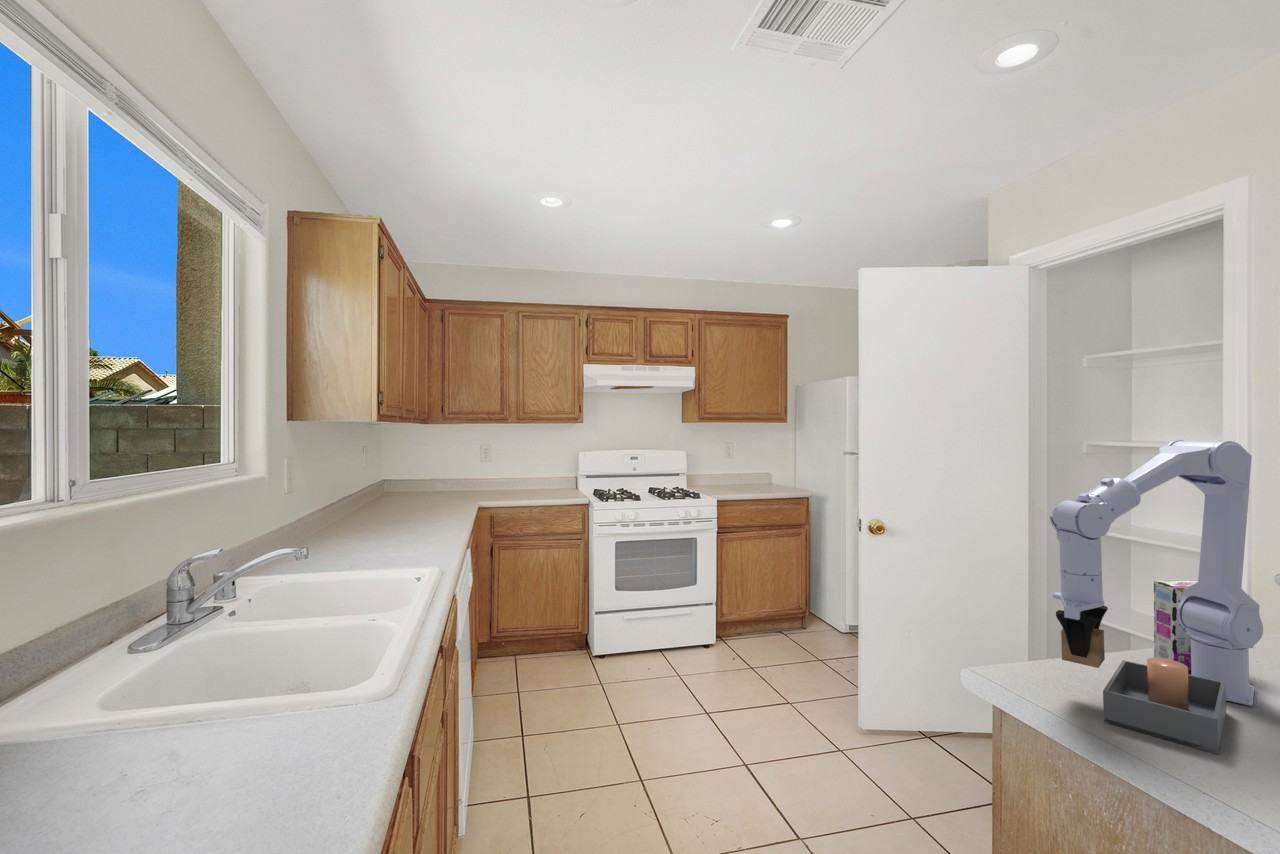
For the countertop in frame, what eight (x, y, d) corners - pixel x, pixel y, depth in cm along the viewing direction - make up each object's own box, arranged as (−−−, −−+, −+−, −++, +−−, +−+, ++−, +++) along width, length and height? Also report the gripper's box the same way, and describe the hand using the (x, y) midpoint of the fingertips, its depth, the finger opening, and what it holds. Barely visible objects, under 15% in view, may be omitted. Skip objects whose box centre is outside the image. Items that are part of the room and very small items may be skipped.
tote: (1123, 687, 104) (1122, 660, 104) (1226, 713, 95) (1225, 682, 95) (1103, 722, 93) (1103, 690, 93) (1218, 754, 83) (1217, 719, 83)
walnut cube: (1069, 651, 103) (1068, 623, 103) (1104, 659, 100) (1103, 630, 100) (1061, 659, 100) (1061, 630, 100) (1098, 668, 96) (1097, 637, 96)
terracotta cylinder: (1140, 700, 98) (1139, 659, 98) (1165, 697, 99) (1163, 656, 99) (1171, 715, 93) (1170, 671, 93) (1197, 711, 94) (1196, 668, 94)
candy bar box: (1176, 674, 109) (1173, 587, 109) (1153, 663, 114) (1151, 580, 114) (1237, 673, 109) (1235, 586, 109) (1212, 662, 114) (1209, 579, 114)
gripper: (1063, 560, 108) (1065, 634, 108) (1041, 576, 98) (1043, 656, 98) (1111, 566, 102) (1114, 644, 102) (1093, 583, 93) (1096, 668, 93)
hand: (1083, 651), depth 100 cm, fingers closed on walnut cube, 5 cm apart
